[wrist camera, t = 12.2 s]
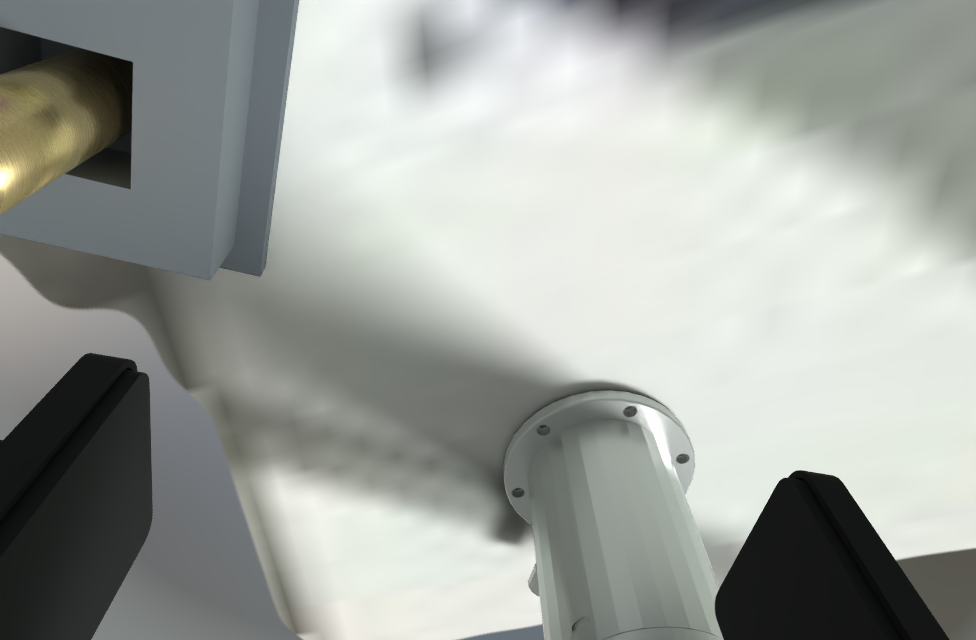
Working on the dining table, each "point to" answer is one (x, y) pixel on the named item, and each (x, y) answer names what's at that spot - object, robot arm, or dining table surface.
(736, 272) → the dining table surface
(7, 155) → the pipe stub
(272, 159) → the socket fitting
